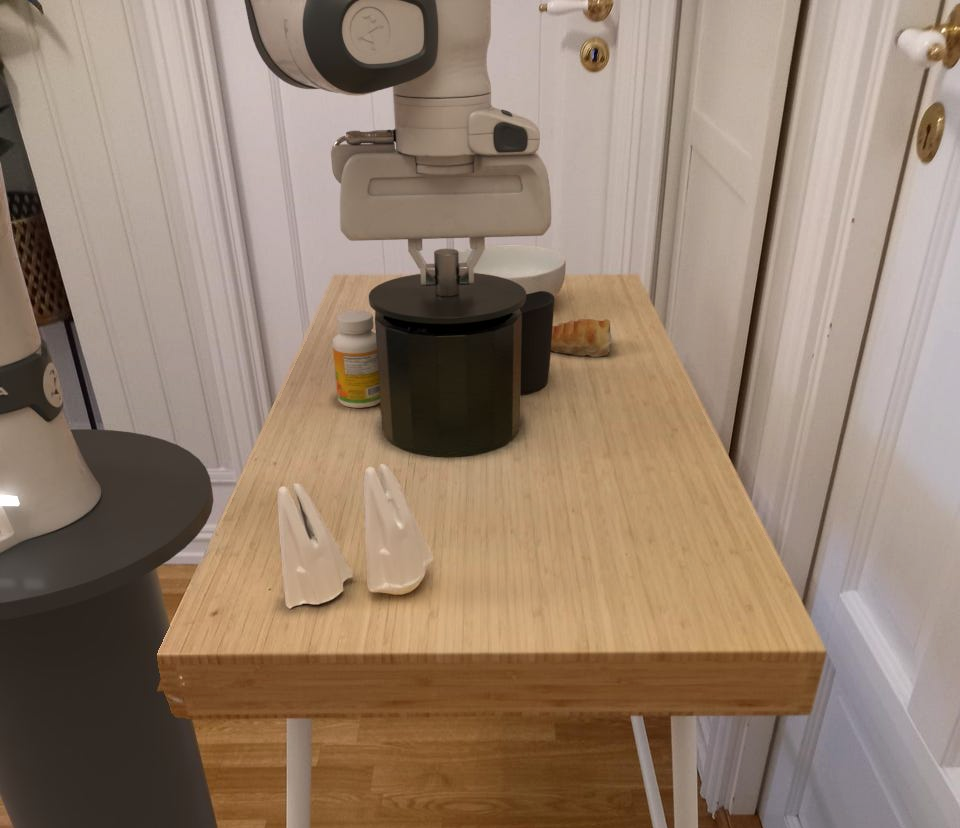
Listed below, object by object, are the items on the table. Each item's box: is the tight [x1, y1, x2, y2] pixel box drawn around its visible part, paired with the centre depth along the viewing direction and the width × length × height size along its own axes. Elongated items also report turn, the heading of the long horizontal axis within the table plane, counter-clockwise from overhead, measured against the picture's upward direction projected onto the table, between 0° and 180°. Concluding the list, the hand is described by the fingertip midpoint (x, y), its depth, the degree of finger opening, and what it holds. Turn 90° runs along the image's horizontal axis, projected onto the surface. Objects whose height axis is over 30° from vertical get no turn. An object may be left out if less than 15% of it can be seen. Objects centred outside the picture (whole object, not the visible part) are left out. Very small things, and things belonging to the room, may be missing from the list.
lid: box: [368, 248, 526, 324], centre depth 96 cm, size 16×16×5 cm
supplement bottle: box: [332, 310, 381, 409], centre depth 109 cm, size 5×5×10 cm
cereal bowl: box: [458, 244, 566, 298], centre depth 138 cm, size 17×17×7 cm
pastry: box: [551, 318, 613, 358], centre depth 125 cm, size 9×7×4 cm
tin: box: [374, 309, 522, 458], centre depth 102 cm, size 15×15×12 cm
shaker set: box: [277, 463, 435, 609], centre depth 75 cm, size 12×4×11 cm, turn 95°
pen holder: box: [520, 291, 555, 395], centre depth 113 cm, size 9×9×10 cm
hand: (447, 284), depth 96 cm, fingers closed on lid, 2 cm apart
